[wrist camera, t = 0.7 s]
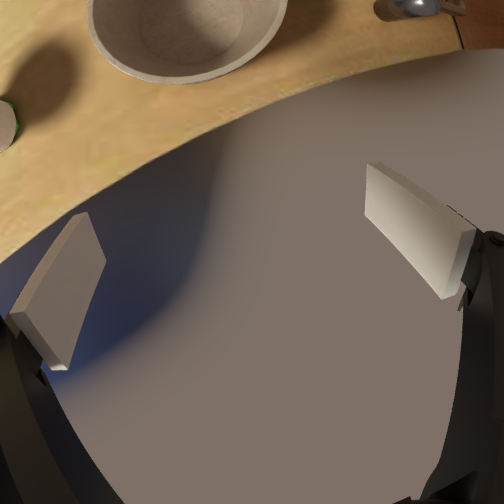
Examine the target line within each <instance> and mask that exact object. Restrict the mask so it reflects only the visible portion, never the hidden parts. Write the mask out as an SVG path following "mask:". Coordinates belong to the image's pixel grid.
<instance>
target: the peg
mask: <svg viewBox="0 0 504 504" xmlns="http://www.w3.org/2000/svg"><path fill="white" fill-rule="evenodd" d="M373 8H374V12H375V14H376V15H377V16H378V17H379V18H380V19H381V20H383V21H386V22H390V21H395V20H401V19H407V18H414V17H421V16H429V15H437V14H439V13H440V11H441V3H440V0H377V1H375V3H374V6H373Z"/></svg>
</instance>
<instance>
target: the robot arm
mask: <svg viewBox="0 0 504 504" xmlns="http://www.w3.org/2000/svg"><path fill="white" fill-rule="evenodd" d="M365 216H366V217H367V218H368V219H369V220H370V221H371V222H372V223H373V224H374V225H375V226H376V227H377V228H378V229H379V230H380V231H381V232H382V233H383V234H384V235H385V236H386V237H387V238H388V239H389V240H390V241H391V243H392V244H394V246H395V247H396V248H397V249H398V250H399V251H400V252H401V253H402V254H403V255H404V257H405V258H406V259H407V260H408V261H409V262H410V263H411V264H412V265H413V267H414V268H415V269H416V270H417V271H418V272H419V273H420V275H421V276H422V277H423V278H424V279H425V280H426V282H427V283H428V284H429V285H430V286H431V287H432V289H433V290H434V291H435V292H436V293H437V295H438V296H439V297H440V298H441V299H445V298H447V297H450V296H453V295H455V294H456V293H457V290H458V287H459V285H460V282H461V281H462V282H463V283H464V284H465V285H466V289H465V292H464V294H463V297H462V300H461V302H460V305H459V307H458V311H460V309H461V307H463V326H462V342H461V352H460V362H459V370H458V377H457V384H456V390H455V397H454V402H453V407H452V412H451V417H450V422H449V426H448V431H447V434H446V438H445V442H444V446H443V450H442V453H441V457H440V460H439V462H438V464H437V467H436V468H435V470H434V471H433V473H432V474H431V475H430V477H429V479H428V481H427V483H426V485H425V487H424V489H423V492H422V495H421V497H420V499H419V500H411V498H410V497H407V498H405V499H403V500H401V501H398V502H396V503H394V504H504V235H503V234H501V233H498V232H495V231H486V232H485V233H483V232H482V231H481V230H479V229H478V228H477V227H476V226H474V225H473V224H472V223H470V222H469V221H468V220H467V219H465V218H463V216H461V215H460V214H459V213H457V212H456V211H455V210H453V209H452V208H451V207H449V206H448V205H445V204H444V203H443V202H441V201H440V200H438V199H437V198H435V197H434V196H433V195H431V194H430V193H428V192H427V191H425V190H424V189H422V188H421V187H419V186H418V185H416V184H415V183H413V182H412V181H410V180H409V179H407V178H406V177H404V176H403V175H401V174H399V173H398V172H396V171H395V170H393V169H391V168H390V167H388V166H386V165H385V164H383V163H381V162H375V163H367V182H366V204H365ZM105 263H106V259H105V257H104V254H103V252H102V249H101V247H100V245H99V242H98V239H97V237H96V234H95V232H94V229H93V227H92V224H91V221H90V219H89V216H88V213H87V212H85V213H81V214H78V215H74V216H73V217H72V218H71V220H70V221H69V222H68V224H67V225H66V226H65V228H64V229H63V230H62V232H61V233H60V234H59V236H58V237H57V238H56V240H55V241H54V243H53V244H52V245H51V247H50V248H49V250H48V251H47V253H46V254H45V256H44V257H43V258H42V260H41V261H40V263H39V265H38V266H37V267H36V269H35V271H34V272H33V274H32V275H31V277H30V279H29V280H28V281H27V282H26V284H25V285H24V287H23V288H22V290H21V293H19V295H18V297H17V300H15V302H14V304H13V305H12V307H11V309H10V311H9V313H8V314H7V316H6V318H5V320H3V318H2V317H1V315H0V504H124V502H123V501H122V500H121V499H120V497H119V496H118V495H117V494H116V492H115V491H114V490H113V488H112V487H111V486H110V484H109V483H108V482H107V480H106V479H105V477H104V476H103V475H102V473H101V472H100V470H99V469H98V468H97V466H96V465H95V463H94V462H93V460H92V459H91V457H90V456H89V454H88V452H87V451H86V449H85V448H84V446H83V444H82V443H81V441H80V440H79V438H78V436H77V435H76V433H75V431H74V429H73V428H72V426H71V424H70V422H69V420H68V419H67V417H66V415H65V413H64V411H63V409H62V407H61V405H60V403H59V401H58V399H57V397H56V395H55V393H54V391H53V389H52V387H51V385H50V383H49V380H48V378H47V376H46V374H45V372H44V371H43V370H42V369H41V368H40V366H41V364H42V360H44V361H45V362H46V364H47V365H48V366H49V367H50V368H51V370H68V368H69V364H70V361H71V357H72V354H73V351H74V347H75V344H76V341H77V338H78V335H79V332H80V329H81V326H82V323H83V320H84V317H85V314H86V312H87V309H88V306H89V303H90V300H91V298H92V295H93V293H94V290H95V288H96V285H97V283H98V280H99V277H100V275H101V273H102V270H103V267H104V266H105Z"/></svg>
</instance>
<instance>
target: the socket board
mask: <svg viewBox="0 0 504 504" xmlns="http://www.w3.org/2000/svg"><path fill="white" fill-rule="evenodd" d="M440 3H441V11H440V12H443V13H446V14H449V15H452V16H467V13H466V8H465V2H464V0H447V2H445V1H442V0H440Z"/></svg>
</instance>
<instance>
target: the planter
mask: <svg viewBox="0 0 504 504" xmlns="http://www.w3.org/2000/svg"><path fill="white" fill-rule="evenodd" d="M287 3H288V0H88V2H87V11H86V19H87V25H88V31H89V34H90V36H91V39H92V41H93V43H94V45H95V46H96V48H97V50H98V51H99V53H100V54H101V55H102V56H103V57H104V58H105V59H106V60H107V61H108V62H109V63H110V64H111V65H113V66H114V67H116V68H117V69H118V70H120V71H122V72H124V73H126V74H128V75H130V76H132V77H134V78H138V79H141V80H144V81H147V82H154V83H160V84H195V83H202V82H206V81H210V80H213V79H216V78H218V77H221V76H223V75H225V74H227V73H229V72H230V71H232V70H234V69H236V68H238V67H240V66H242V65H243V64H245V63H246V62H248V61H249V60H251V59H252V58H254V57H255V56H256V55H257V54H258V53H259V52H260V51H262V50H263V49H264V48H265V47H266V46H267V44H268V43H269V42H270V41H271V40H272V38H273V37H274V36H275V34H276V33H277V31H278V29H279V27H280V26H281V24H282V21H283V19H284V16H285V13H286V9H287Z"/></svg>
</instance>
